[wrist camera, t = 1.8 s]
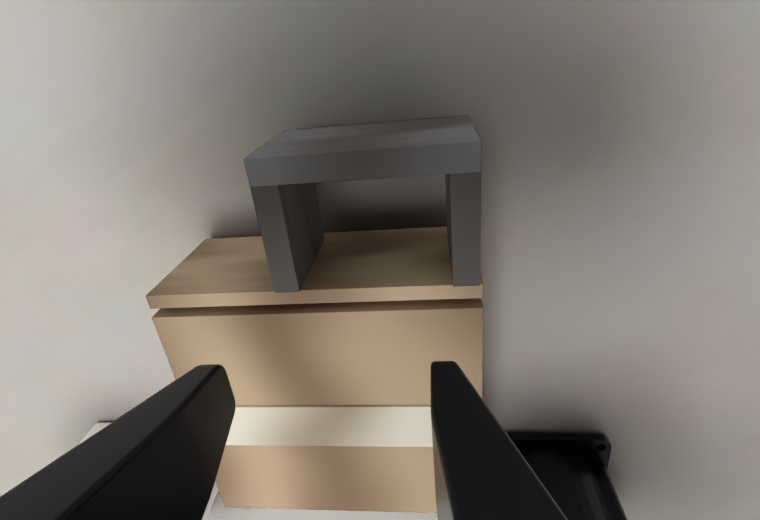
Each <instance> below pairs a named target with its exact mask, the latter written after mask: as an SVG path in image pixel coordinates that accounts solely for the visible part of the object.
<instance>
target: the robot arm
mask: <svg viewBox="0 0 760 520" xmlns="http://www.w3.org/2000/svg"><path fill="white" fill-rule="evenodd" d="M430 394H431V425H432V442H433V459H434V476H435V493H436V507H437V515H438V520H627V518H626V516H625V513H624V511H623V508H622V506H621V504H620V501H619V499H618V496H617V494H616V492H615V489H614V487H613V484H612V482H611V479H610V477H609V475H608V472H607V466H608V461H609V456H610V451H611V444H610V442H609V440H608V438H607V437H606V436H605V435H603V434H509V433H506V432H505V430H504V429H503V427H502V426H501V424H500V423H499V422H498V420H497V419H496V417H495V416H494V415H493V413H492V412H491V410H490V409H489V408H488V406H487V405H486V403H485V402H484V400H483V399H482V398H481V396H480V395H479V393H478V392H477V391H476V389H475V388H474V386H473V385H472V383H471V382H470V381H469V379H468V378H467V376H466V375H465V374H464V372H463V371H462V369H461V368H460V366H459V365H458V364H457V363H456V362H455V361H433V362H432V363H431V366H430ZM235 405H236V404H235V397H234V394H233V391H232V388H231V385H230V382H229V379H228V375H227V372H226V370H225V368H224V367H223V366H222V365H219V364H203V365H198V366H196V367H195V368H193V369H192V370H190V371H189V372H187V373H186V374H184V375H183V376H181V377H180V378H178V379H177V380H175V381H174V382H172V383H171V384H169V385H168V386H166V387H165V388H163V389H162V390H160V391H159V392H157V393H156V394H154V395H153V396H151V397H149V398H148V399H146V400H145V401H143V402H142V403H140V404H139V405H137V406H136V407H134V408H133V409H131V410H130V411H128V412H127V413H125V414H124V415H122V416H121V417H119V418H118V419H116V420H115V421H113V422H112V423H110V424H109V425H107V426H106V427H104V428H103V429H101V430H100V431H98V432H97V433H95V434H94V435H92V436H91V437H89V438H88V439H86V440H85V441H83V442H82V443H80V444H79V445H77V446H76V447H74V448H73V449H71V450H70V451H68V452H67V453H65V454H64V455H62V456H61V457H59V458H58V459H56V460H55V461H53V462H52V463H50V464H49V465H47V466H46V467H44V468H43V469H41V470H40V471H38V472H37V473H35V474H34V475H32V476H31V477H29V478H28V479H26V480H25V481H23V482H22V483H20V484H19V485H17V486H16V487H14V488H13V489H11V490H10V491H8V492H7V493H5V494H4V495H2V496H1V497H0V520H202V518H203V515H204V513H205V510H206V507H207V505H208V502H209V499H210V496H211V493H212V490H213V487H214V484H215V480H216V477H217V473H218V470H219V466H220V463H221V459H222V456H223V452H224V449H225V445H226V442H227V438H228V435H229V431H230V428H231V424H232V421H233V417H234V414H235ZM598 444H599V445H598Z"/></svg>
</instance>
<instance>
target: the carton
mask: <svg viewBox="0 0 760 520" xmlns="http://www.w3.org/2000/svg"><path fill="white" fill-rule="evenodd" d="M152 320H153V322H154V325H155V327H156V330H157V332H158V335H159V338H160V340H161V343H162V345H163V348H164V351H165V353H166V356H167V358H168V361H169V363H170V366H171V369H172V371H173V374H174V376H175V379H176V380H177V379H178V378H180V377H181V376H183V375H184V374H186V373H187V372H189V371H190V370H192V369H193V368H195V367H196V366H198V365H203V364H219V365H222V366H223V367H224V368H225V370H226V372H227V375H228V379H229V382H230V385H231V388H232V391H233V394H234V397H235V404H236V405H235V414H234V417H233V421H232V424H231V428H230V431H229V435H228V438H227V442H226V445H225V449H224V452H223V456H222V459H221V463H220V466H219V470H218V473H217V477H216V480H215V482H216V484H217V487H218V490H219V492H220V495H221V497H222V500H223V502H224V505H225V507H235V508H272V509H309V510H347V511H384V512H421V513H437V507H436V493H435V476H434V459H433V442H432V425H431V394H430V366H431V363H432V362H433V361H455V362H456V363H457V364H458V365H459V366H460V368H461V369H462V371H463V372H464V374H465V375H466V376H467V378H468V379H469V381H470V382H471V383H472V385H473V386H474V388H475V389H476V391H477V392H478V393H479V395H480V396H481V398H482V361H483V305H482V300H481V298H468V299H436V300H405V301H373V302H342V303H311V304H279V305H248V306H217V307H185V308H161V309H160V310H159V311H158V312H157V313H156V314H155V315H154V316H153V317H152Z"/></svg>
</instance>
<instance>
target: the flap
mask: <svg viewBox="0 0 760 520" xmlns="http://www.w3.org/2000/svg"><path fill="white" fill-rule="evenodd" d="M244 162H245V167H246V171H247V175H248V180H249V184H250V188H251V192H252V197H253V201H254V205H255V210H256V214H257V218H258V223H259V227H260V231H261V235H262V236H254V237H235V238H215V239H206V240H204V241H203V242H202V243H201V244H200V245H199V246H198V247H197V248H196V249H195V250H194V251H193V252H192V253H191V254H190V255H189V256H188V257H186V258H185V259H184V260H183V261H182V262H181V263H180V264H179V265H178V266H177V267H176V268H175V269H174V270H173V271H172V272H171V273H169V274H168V275H167V276H166V277H165V278H164V279H163V280H162V281H161V282H160V283H159V284H158V285H157V286H156V287H155V288H154V289H152V290H151V291H150V292H149V293H148V294H147V295H146V298H147V301H148V303H149V306H150V309H154V308H185V307H217V306H248V305H279V304H311V303H342V302H373V301H405V300H436V299H468V298H483V282H482V278H481V273H480V205H481V140H480V138H479V136H478V134H477V133H476V131H475V129H474V127H473V125H472V123H471V121H470V119H469V117H468V115H467V116H455V117H443V118H431V119H418V120H406V121H394V122H382V123H370V124H357V125H345V126H333V127H321V128H309V129H296V130H284V131H283V132H282V133H280V134H279V135H277V136H276V137H274V138H273V139H272V140H270V141H269V142H267V143H266V144H264V145H263V146H262V147H260V148H259V149H257V150H256V151H254V152H253V153H251V154H250V155H249V156H247V157H246V158H244ZM438 174H446V208H447V227H427V228H408V229H389V230H370V231H350V232H331V233H324V232H323V226H322V220H321V214H320V208H319V202H318V196H317V190H316V184H315V183H317V182H333V181H348V180H363V179H378V178H393V177H408V176H423V175H438Z"/></svg>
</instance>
